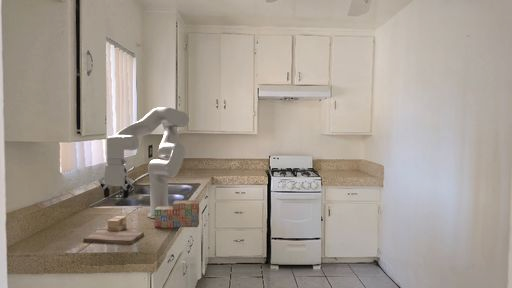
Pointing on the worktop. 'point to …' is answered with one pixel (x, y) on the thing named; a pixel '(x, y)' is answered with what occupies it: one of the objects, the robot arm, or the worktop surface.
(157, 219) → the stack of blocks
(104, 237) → the board
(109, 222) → the block
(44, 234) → the worktop surface
